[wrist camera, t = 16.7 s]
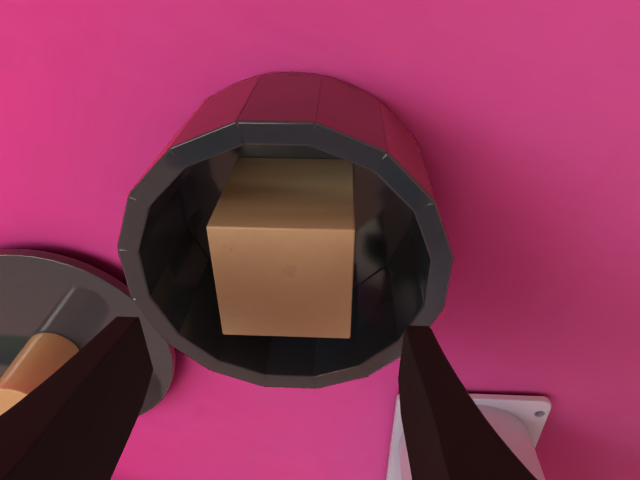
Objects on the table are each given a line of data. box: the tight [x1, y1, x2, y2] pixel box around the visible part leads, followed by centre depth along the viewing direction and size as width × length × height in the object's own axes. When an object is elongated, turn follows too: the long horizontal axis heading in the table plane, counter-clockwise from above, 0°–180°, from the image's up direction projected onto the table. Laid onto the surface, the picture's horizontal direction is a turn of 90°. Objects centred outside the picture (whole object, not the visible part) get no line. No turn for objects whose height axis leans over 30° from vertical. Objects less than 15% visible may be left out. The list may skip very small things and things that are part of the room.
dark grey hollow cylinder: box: [117, 72, 453, 389], centre depth 18 cm, size 11×11×5 cm
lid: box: [0, 249, 176, 416], centre depth 23 cm, size 12×12×4 cm
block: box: [206, 158, 355, 338], centre depth 18 cm, size 4×4×5 cm
